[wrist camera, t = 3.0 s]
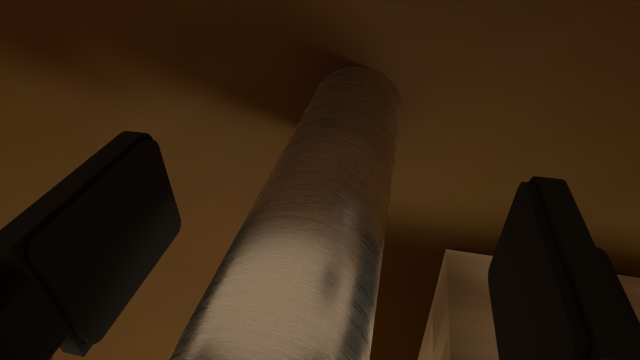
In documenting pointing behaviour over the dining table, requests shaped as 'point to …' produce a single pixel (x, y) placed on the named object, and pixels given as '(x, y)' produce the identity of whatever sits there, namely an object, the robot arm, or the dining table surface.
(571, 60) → the dining table surface
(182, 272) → the dining table surface
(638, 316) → the square wooden hole block
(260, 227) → the peg
